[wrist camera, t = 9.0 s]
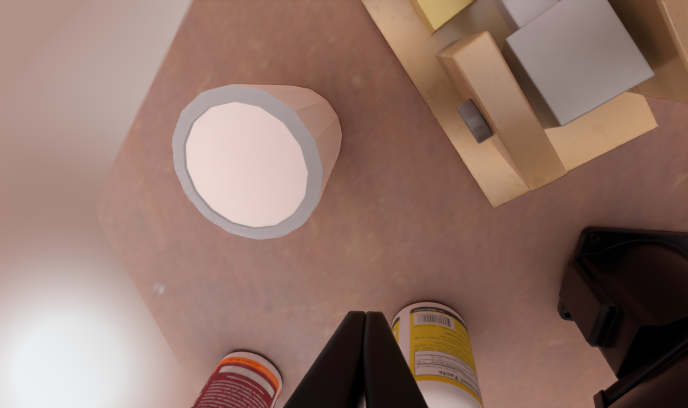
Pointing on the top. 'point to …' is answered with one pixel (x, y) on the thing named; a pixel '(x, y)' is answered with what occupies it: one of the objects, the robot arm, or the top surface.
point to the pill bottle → (241, 383)
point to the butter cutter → (508, 99)
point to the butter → (439, 11)
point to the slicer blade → (569, 56)
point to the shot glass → (256, 156)
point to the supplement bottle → (438, 355)
